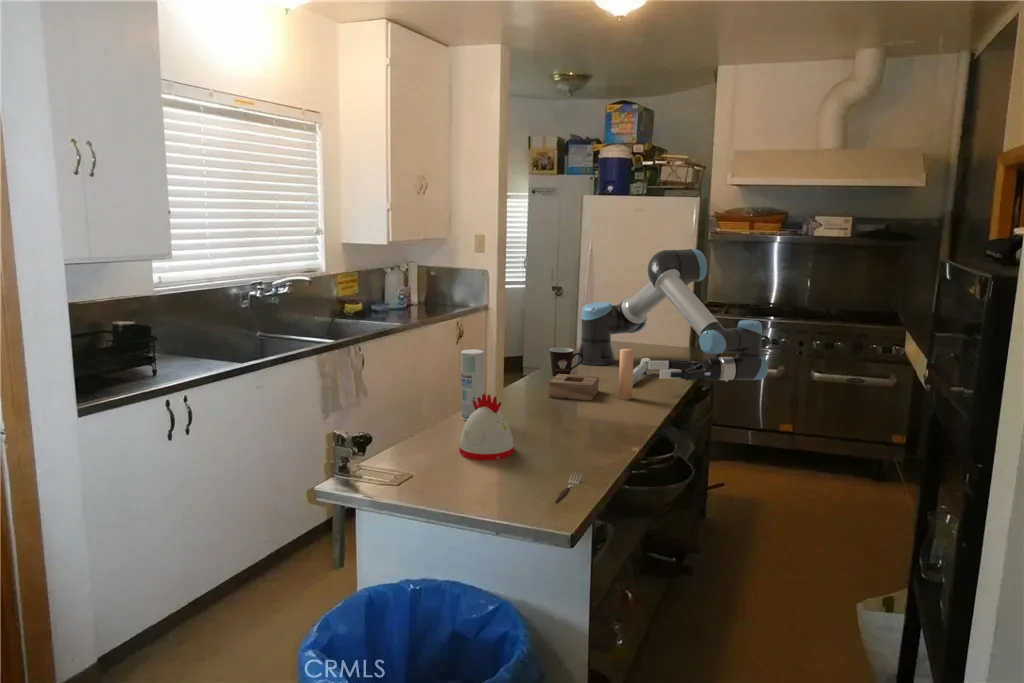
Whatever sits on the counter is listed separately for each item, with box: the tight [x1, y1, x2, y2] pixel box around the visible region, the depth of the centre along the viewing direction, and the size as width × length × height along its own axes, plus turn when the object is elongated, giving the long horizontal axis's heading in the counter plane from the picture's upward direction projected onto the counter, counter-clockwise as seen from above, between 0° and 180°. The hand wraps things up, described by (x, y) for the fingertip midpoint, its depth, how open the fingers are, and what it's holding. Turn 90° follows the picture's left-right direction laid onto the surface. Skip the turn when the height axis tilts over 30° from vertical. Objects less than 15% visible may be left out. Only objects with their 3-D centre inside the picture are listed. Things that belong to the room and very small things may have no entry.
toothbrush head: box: [633, 357, 654, 385], centre depth 269 cm, size 5×7×25 cm
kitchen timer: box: [458, 393, 515, 461], centre depth 190 cm, size 14×14×15 cm
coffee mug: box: [549, 347, 583, 377], centre depth 272 cm, size 12×9×10 cm
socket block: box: [548, 374, 599, 401], centre depth 248 cm, size 13×14×5 cm
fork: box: [555, 470, 583, 504], centre depth 165 cm, size 3×16×2 cm, turn 159°
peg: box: [618, 348, 635, 401], centre depth 242 cm, size 4×4×16 cm
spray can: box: [460, 349, 485, 422], centre depth 218 cm, size 6×6×20 cm
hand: (654, 369), depth 242 cm, fingers open, 13 cm apart
